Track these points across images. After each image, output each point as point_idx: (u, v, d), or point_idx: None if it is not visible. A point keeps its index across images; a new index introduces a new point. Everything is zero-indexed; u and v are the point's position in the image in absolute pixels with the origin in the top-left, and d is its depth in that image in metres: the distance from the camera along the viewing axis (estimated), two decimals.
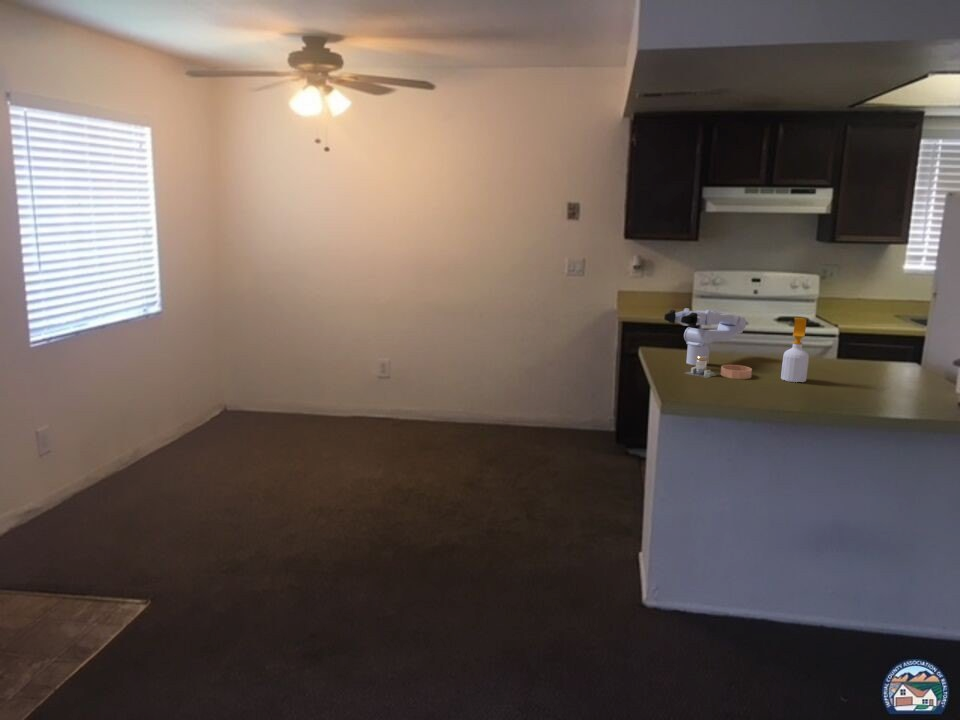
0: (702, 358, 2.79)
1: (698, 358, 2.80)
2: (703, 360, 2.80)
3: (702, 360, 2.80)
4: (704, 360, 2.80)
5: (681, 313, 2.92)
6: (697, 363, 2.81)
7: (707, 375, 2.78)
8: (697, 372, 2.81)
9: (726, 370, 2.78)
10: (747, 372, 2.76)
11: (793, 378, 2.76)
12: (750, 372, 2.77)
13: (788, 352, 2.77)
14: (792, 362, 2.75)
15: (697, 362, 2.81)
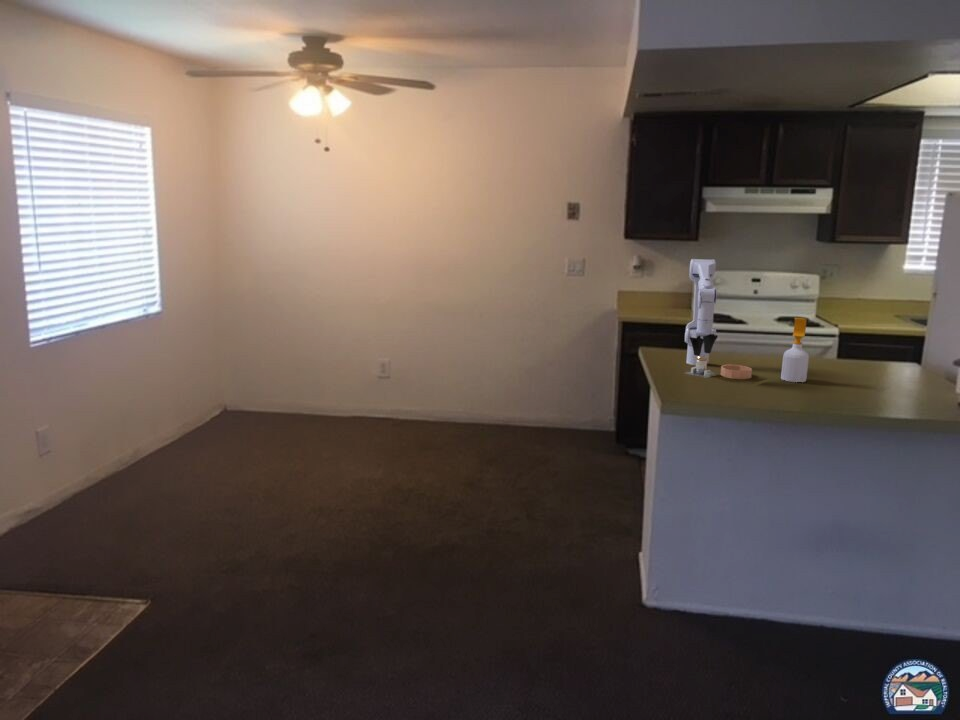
0: (702, 358, 2.79)
1: (698, 358, 2.80)
2: (703, 360, 2.80)
3: (702, 360, 2.80)
4: (704, 360, 2.80)
5: None
6: (697, 363, 2.81)
7: (707, 375, 2.78)
8: (697, 372, 2.81)
9: (726, 370, 2.78)
10: (747, 372, 2.76)
11: (793, 378, 2.76)
12: (750, 372, 2.77)
13: (788, 352, 2.77)
14: (792, 362, 2.75)
15: (697, 362, 2.81)
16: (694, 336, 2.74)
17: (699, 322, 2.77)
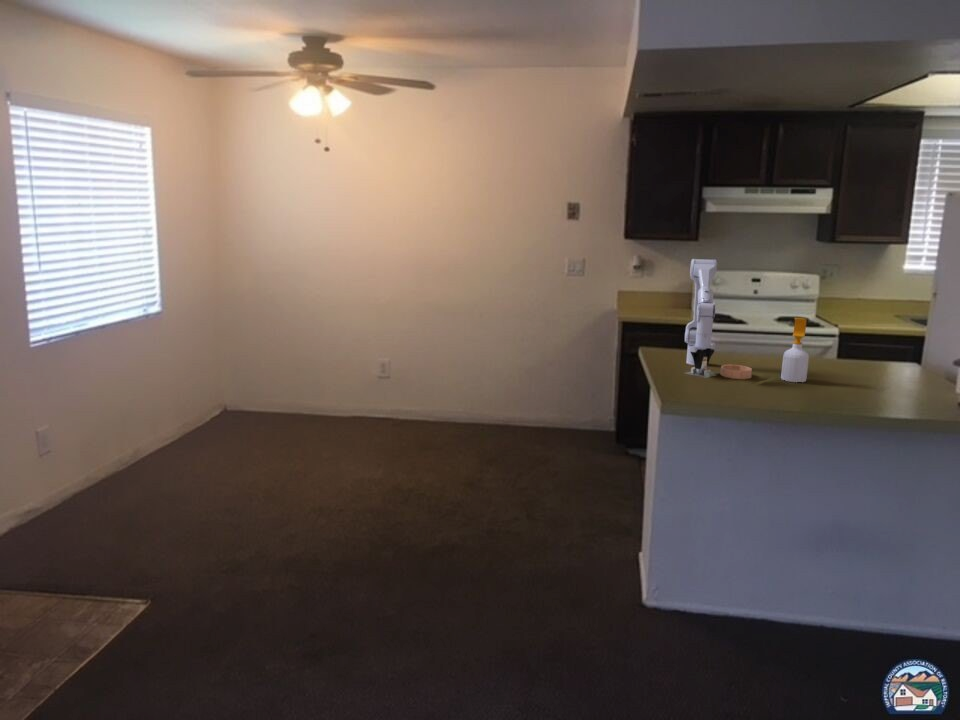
0: None
1: None
2: (703, 360, 2.80)
3: None
4: (704, 360, 2.80)
5: None
6: None
7: (707, 375, 2.78)
8: (697, 372, 2.81)
9: (726, 370, 2.78)
10: (747, 372, 2.76)
11: (793, 378, 2.76)
12: (750, 372, 2.77)
13: (788, 352, 2.77)
14: (792, 362, 2.75)
15: None
16: (693, 350, 2.76)
17: (698, 336, 2.78)
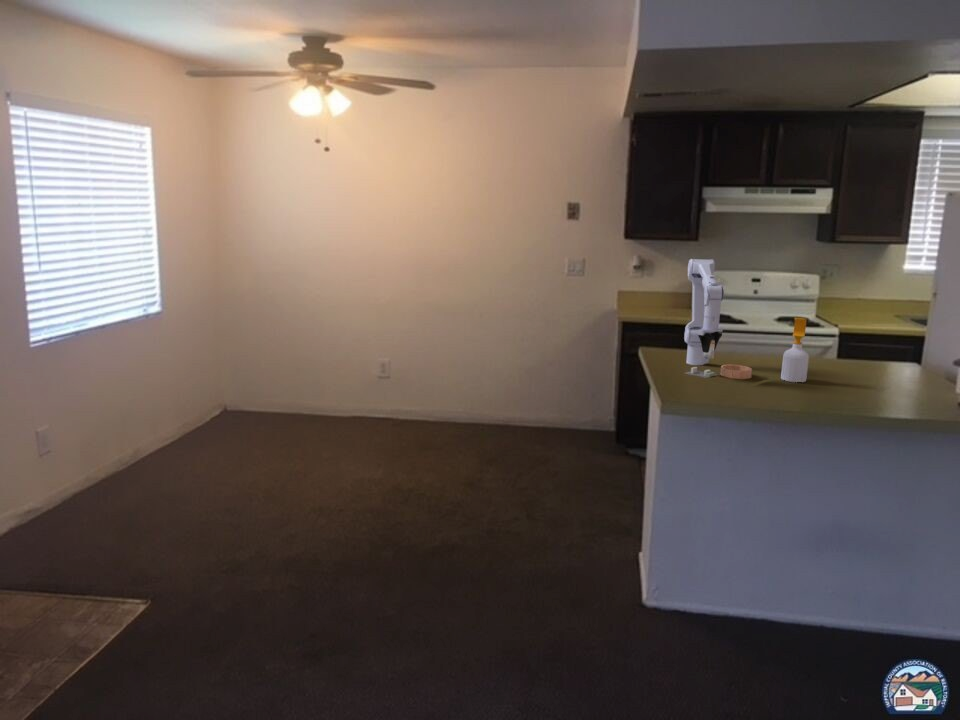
0: None
1: None
2: (711, 343, 2.78)
3: (710, 343, 2.78)
4: (712, 343, 2.78)
5: None
6: None
7: (707, 375, 2.78)
8: (705, 356, 2.80)
9: (726, 370, 2.78)
10: (747, 372, 2.76)
11: (793, 378, 2.76)
12: (750, 372, 2.77)
13: (788, 352, 2.77)
14: (792, 362, 2.75)
15: None
16: (701, 333, 2.74)
17: (706, 319, 2.77)
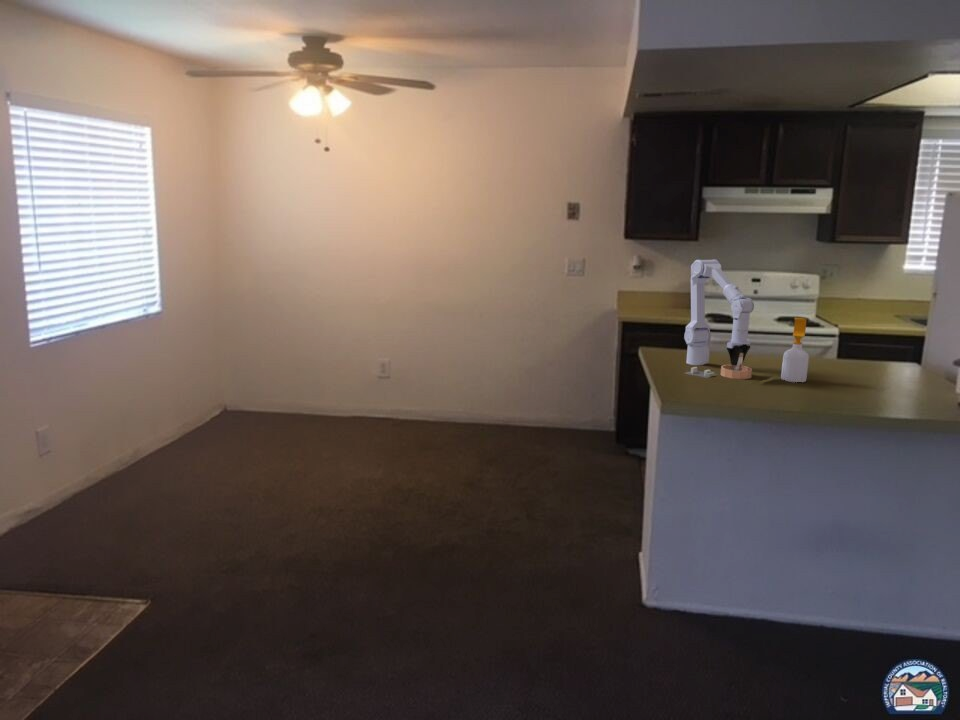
0: None
1: None
2: (739, 356, 2.78)
3: None
4: (740, 356, 2.78)
5: None
6: None
7: (707, 375, 2.78)
8: (733, 368, 2.80)
9: (726, 370, 2.78)
10: (747, 372, 2.76)
11: (793, 378, 2.76)
12: (750, 372, 2.77)
13: (788, 352, 2.77)
14: (792, 362, 2.75)
15: None
16: (730, 346, 2.74)
17: (734, 332, 2.77)
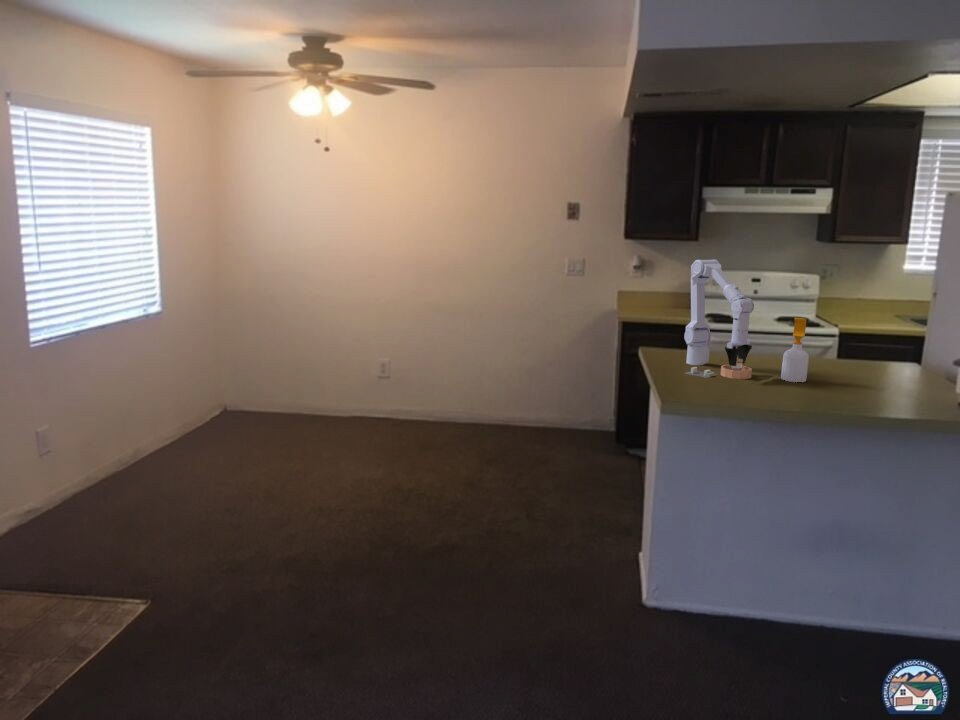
0: (738, 360, 2.78)
1: None
2: (739, 362, 2.78)
3: (738, 362, 2.78)
4: (740, 362, 2.79)
5: None
6: None
7: (707, 375, 2.78)
8: None
9: (726, 370, 2.78)
10: (747, 372, 2.76)
11: (793, 378, 2.76)
12: (750, 372, 2.77)
13: (788, 352, 2.77)
14: (792, 362, 2.75)
15: None
16: (730, 346, 2.74)
17: (734, 332, 2.77)
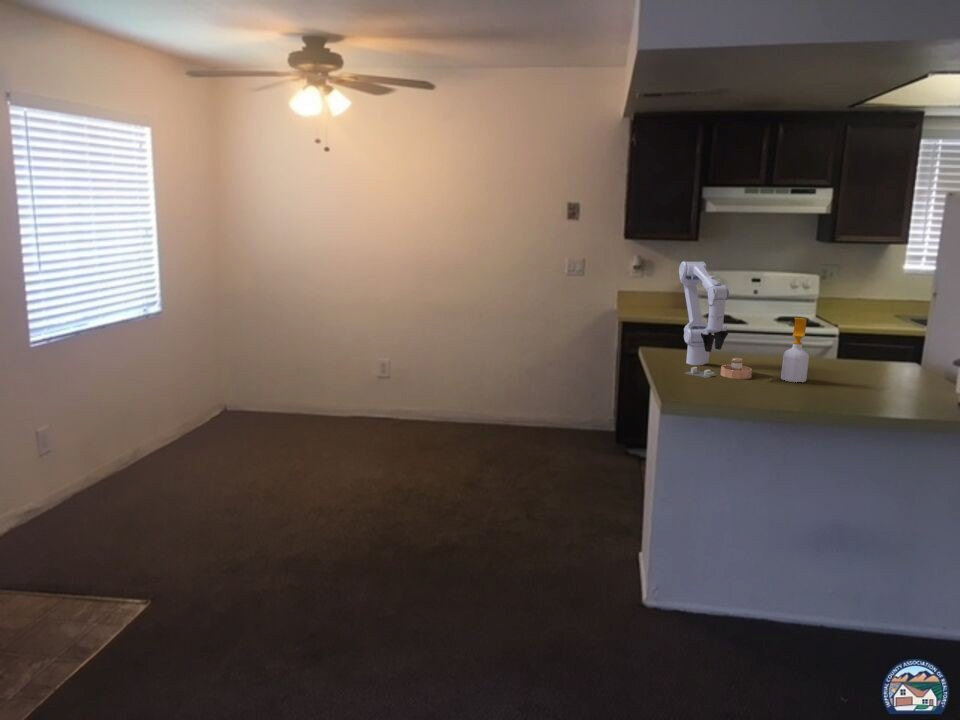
0: (738, 360, 2.78)
1: (734, 360, 2.79)
2: (739, 362, 2.78)
3: (738, 362, 2.78)
4: (740, 362, 2.79)
5: None
6: (732, 365, 2.80)
7: (707, 375, 2.78)
8: None
9: (726, 370, 2.78)
10: (747, 372, 2.76)
11: (793, 378, 2.76)
12: (750, 372, 2.77)
13: (788, 352, 2.77)
14: (792, 362, 2.75)
15: (733, 364, 2.80)
16: (705, 333, 2.80)
17: (710, 319, 2.82)
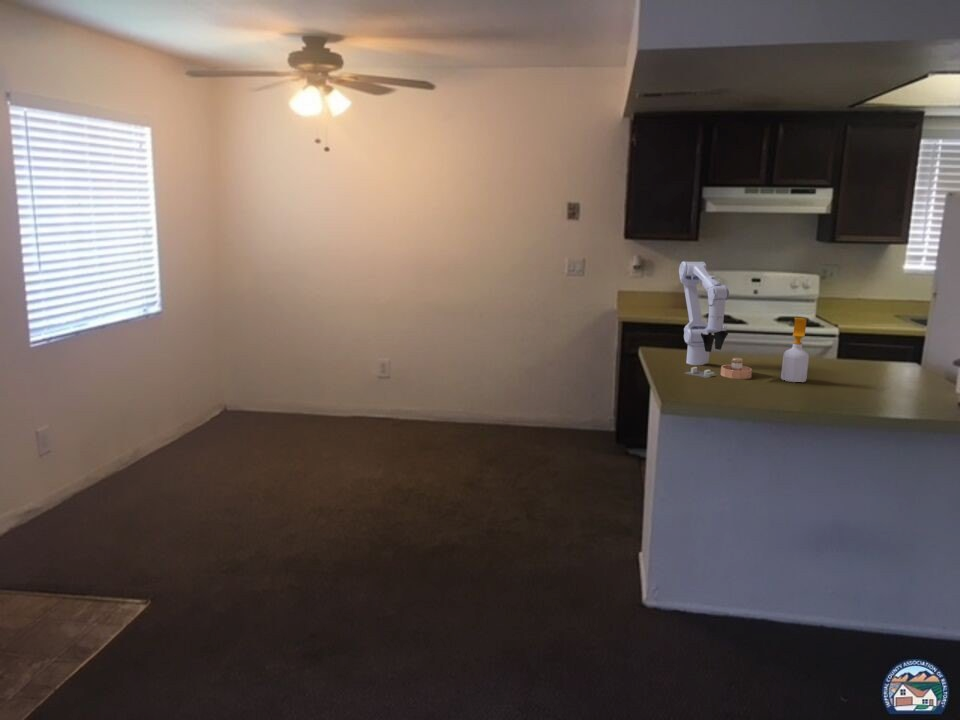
0: (738, 360, 2.78)
1: (734, 360, 2.79)
2: (739, 362, 2.78)
3: (738, 362, 2.78)
4: (740, 362, 2.79)
5: None
6: (732, 365, 2.80)
7: (707, 375, 2.78)
8: None
9: (726, 370, 2.78)
10: (747, 372, 2.76)
11: (793, 378, 2.76)
12: (750, 372, 2.77)
13: (788, 352, 2.77)
14: (792, 362, 2.75)
15: (733, 364, 2.80)
16: (705, 333, 2.80)
17: (710, 319, 2.82)
